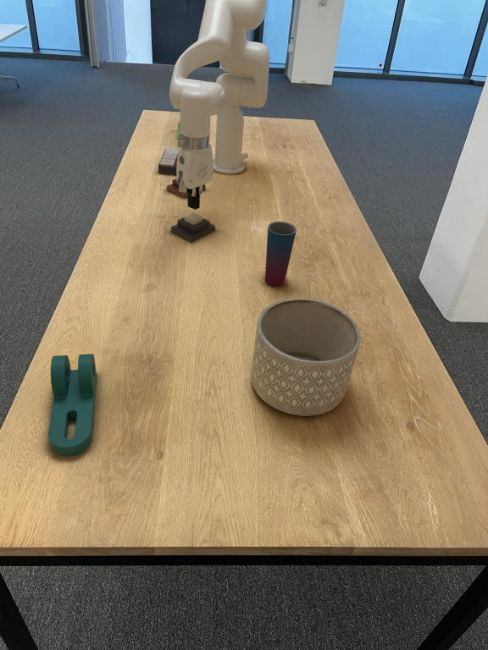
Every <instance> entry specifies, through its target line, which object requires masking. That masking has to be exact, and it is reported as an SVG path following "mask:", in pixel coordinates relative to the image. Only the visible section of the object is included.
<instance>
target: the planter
mask: <svg viewBox="0 0 488 650" xmlns="http://www.w3.org/2000/svg"><path fill="white" fill-rule="evenodd" d="M255 331H256V332H255V340H254V347H253V355H252V363H251V370H250V381H251V385H252V387H253V389H254V391H255V393H256V394H257V395H258V397H259V398H260V399H261V400H262V401H263V402H265V403H266V404H267V405H269V406H270V407H272V408H274V409H275V410H278V411H281V412H282V413H286V414H289V415H295V416H302V417H303V416H305V417H309V416H312V417H313V416H318V415H323V414H325V413H329V412H331V411H332V410H334V409H335V408H336V407H338V406H339V405H340V404H341V402H342V401H343V400H344V399H345V395H346V392H347V390H348V387H349V382H350V378H351V376H352V372H353V368H354V365H355V362H356V359H357V355H358V351H359V348H360V345H361V339H362V336H361V331H360V328H359V326H358V325H357V323H356V322H355V320H354V319H353V318H352V317H351V316H350V315H349V314H348V313H346V312H345V311H344V310H342V309H341V308H339V307H337V306H335V305H332V304H331V303H329V302H326V301H322V300H318V299H314V298H305V297H294V298H286V299H281V300H278V301H275V302H273V303H271V304H269V305H267V306H266V307H265V308H264V309H262V311H261V312H260V314H259V316H258V318H257V323H256V330H255Z"/></svg>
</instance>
